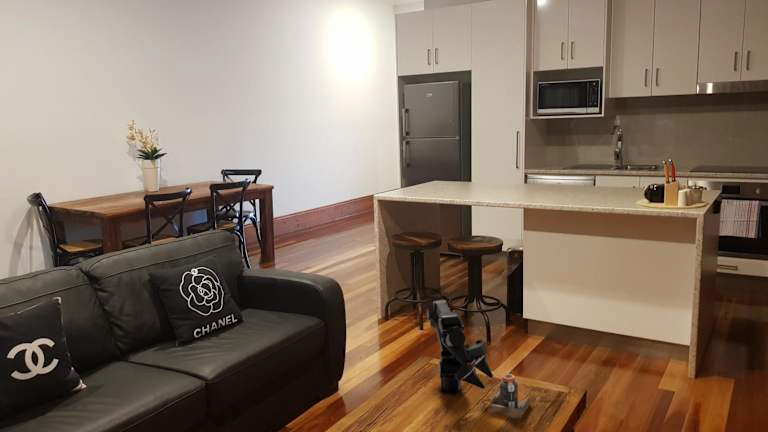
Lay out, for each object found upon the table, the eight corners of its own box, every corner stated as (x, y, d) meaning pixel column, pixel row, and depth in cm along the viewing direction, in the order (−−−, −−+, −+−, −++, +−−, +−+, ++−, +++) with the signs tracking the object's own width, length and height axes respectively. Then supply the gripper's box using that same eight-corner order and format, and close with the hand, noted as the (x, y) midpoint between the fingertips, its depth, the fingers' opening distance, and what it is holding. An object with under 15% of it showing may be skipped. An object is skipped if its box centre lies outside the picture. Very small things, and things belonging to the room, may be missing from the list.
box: (488, 412, 203) (488, 404, 202) (499, 398, 212) (498, 390, 212) (520, 419, 197) (520, 410, 197) (529, 404, 207) (529, 396, 206)
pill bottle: (518, 411, 202) (517, 380, 200) (500, 410, 203) (499, 379, 201) (517, 403, 207) (517, 372, 205) (500, 402, 208) (499, 372, 207)
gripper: (463, 344, 199) (495, 380, 196) (481, 326, 215) (511, 359, 212) (442, 363, 204) (473, 398, 201) (461, 343, 220) (490, 376, 217)
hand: (488, 382), depth 207 cm, fingers open, 9 cm apart
